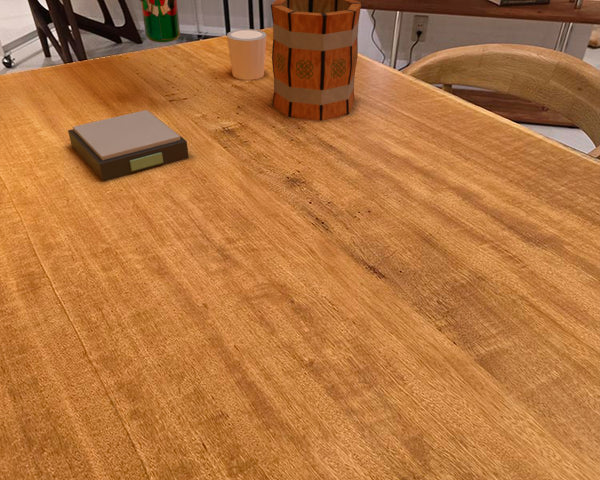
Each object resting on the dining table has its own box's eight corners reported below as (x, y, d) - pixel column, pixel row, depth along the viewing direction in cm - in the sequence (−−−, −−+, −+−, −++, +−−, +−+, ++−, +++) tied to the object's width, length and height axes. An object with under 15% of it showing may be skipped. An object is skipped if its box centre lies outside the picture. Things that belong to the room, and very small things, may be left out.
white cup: (233, 67, 109) (231, 27, 104) (270, 69, 108) (269, 29, 104) (225, 80, 104) (222, 38, 99) (263, 82, 103) (262, 40, 99)
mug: (364, 119, 91) (372, 14, 82) (277, 123, 90) (276, 17, 80) (338, 76, 106) (344, -17, 97) (264, 78, 105) (261, -15, 95)
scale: (104, 183, 75) (99, 160, 73) (72, 148, 82) (66, 126, 80) (189, 159, 80) (187, 137, 78) (152, 128, 88) (148, 107, 86)
